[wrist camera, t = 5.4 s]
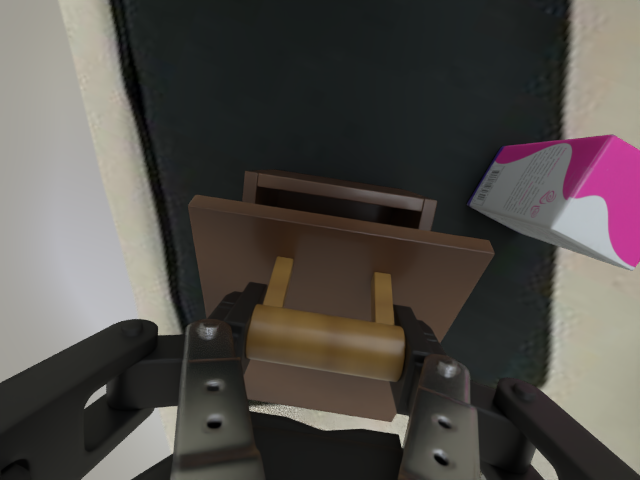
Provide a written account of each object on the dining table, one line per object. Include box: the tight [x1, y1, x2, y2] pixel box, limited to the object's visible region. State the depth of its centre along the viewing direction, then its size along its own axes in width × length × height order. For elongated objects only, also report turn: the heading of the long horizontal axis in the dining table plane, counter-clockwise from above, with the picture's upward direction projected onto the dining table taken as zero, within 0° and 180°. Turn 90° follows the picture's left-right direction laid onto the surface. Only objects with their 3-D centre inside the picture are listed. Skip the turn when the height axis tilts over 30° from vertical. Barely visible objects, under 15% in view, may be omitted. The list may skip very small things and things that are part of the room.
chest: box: [242, 169, 437, 231], centre depth 27 cm, size 15×12×10 cm
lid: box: [188, 195, 495, 422], centre depth 16 cm, size 15×12×5 cm
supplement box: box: [467, 135, 640, 271], centre depth 24 cm, size 6×6×12 cm
